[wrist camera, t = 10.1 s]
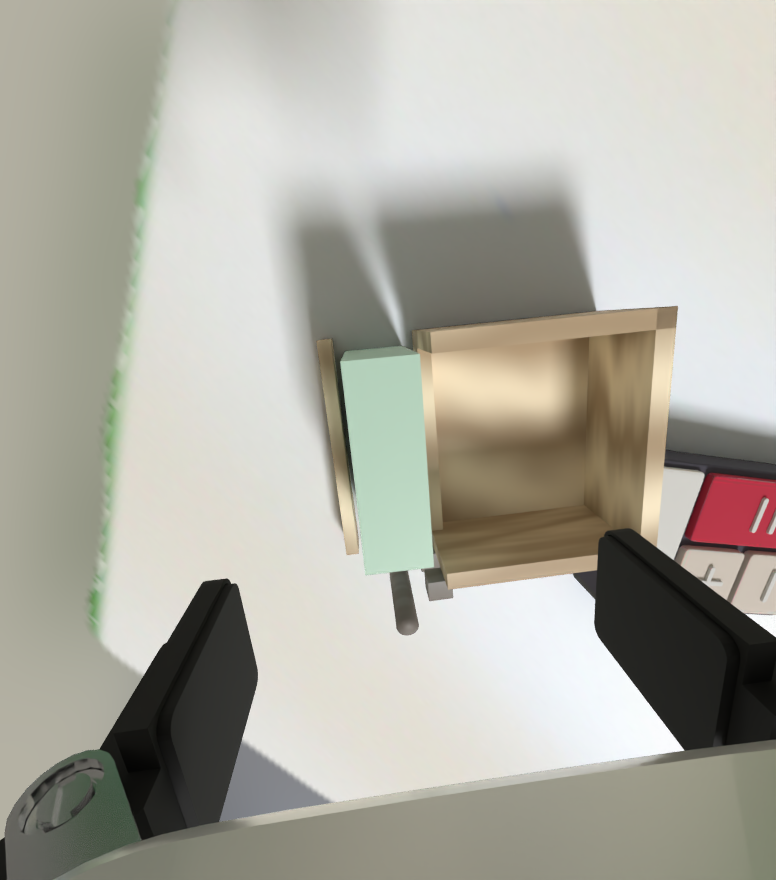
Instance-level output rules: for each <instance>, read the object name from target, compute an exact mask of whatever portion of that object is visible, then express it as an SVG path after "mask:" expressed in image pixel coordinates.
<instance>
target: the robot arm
mask: <svg viewBox="0 0 776 880" xmlns="http://www.w3.org/2000/svg"><path fill="white" fill-rule="evenodd" d="M594 624H595V630H596V633H597V635H598V637H599V638H600V640H601V641H602V642H603V644H604V645H605V646H606V648H607V649H608V650H609V652H610V653H611V654H612V656H613V657H614V658H615V660H616V661H617V662H618V663H619V665H620V666H621V667H622V669H623V670H624V671H625V673H626V674H627V675H628V677H629V678H630V679H631V681H632V682H633V683H634V684H635V686H636V687H637V688H638V690H639V691H640V692H641V694H642V695H643V696H644V698H645V699H646V700H647V702H648V703H649V704H650V705H651V707H652V708H653V709H654V711H655V712H656V713H657V715H658V716H659V717H660V719H661V720H662V721H663V723H664V724H665V725H666V726H667V728H668V729H669V730H670V732H671V733H672V734H673V736H674V737H675V738H676V740H677V741H678V742H679V744H680V745H681V746H682V747H683V749H684V750H685V751H680V752H673V753H665V754H658V755H651V756H644V757H637V758H630V759H623V760H616V761H609V762H602V763H595V764H588V765H581V766H574V767H567V768H560V769H554V770H547V771H540V772H533V773H526V774H520V775H513V776H506V777H499V778H493V779H486V780H479V781H473V782H466V783H459V784H453V785H446V786H439V787H433V788H426V789H419V790H413V791H406V792H400V793H394V794H387V795H381V796H374V797H368V798H361V799H355V800H349V801H342V802H336V803H329V804H323V805H317V806H310V807H304V808H297V809H291V810H285V811H280V812H274V813H268V814H262V815H257V816H251V817H245V818H239V819H234V820H228V821H222V822H219V820H220V816H221V813H222V809H223V805H224V802H225V798H226V795H227V791H228V787H229V784H230V780H231V777H232V773H233V769H234V766H235V762H236V758H237V755H238V751H239V748H240V744H241V741H242V737H243V733H244V730H245V726H246V722H247V719H248V715H249V712H250V708H251V704H252V701H253V697H254V694H255V690H256V686H257V680H258V670H257V665H256V661H255V656H254V652H253V648H252V644H251V639H250V635H249V631H248V626H247V622H246V618H245V613H244V609H243V605H242V601H241V596H240V592H239V588H238V585H237V584H231V582H230V581H229V579H220V580H212V581H205V582H203V583H202V584H201V586H200V588H199V589H198V591H197V593H196V594H195V596H194V598H193V599H192V601H191V603H190V604H189V606H188V608H187V610H186V611H185V613H184V615H183V616H182V618H181V620H180V621H179V623H178V625H177V626H176V628H175V630H174V631H173V633H172V635H171V637H170V638H169V640H168V642H167V643H165V644H164V645H163V646H162V647H161V648H160V650H159V651H158V653H157V655H156V656H155V658H154V660H153V661H152V663H151V665H150V666H149V668H148V669H147V671H146V673H145V674H144V676H143V678H142V679H141V681H140V683H139V685H138V686H137V688H136V689H135V691H134V693H133V694H132V696H131V698H130V699H129V701H128V703H127V704H126V706H125V708H124V709H123V711H122V713H121V714H120V716H119V718H118V719H117V721H116V723H115V724H114V726H113V728H112V729H111V731H110V733H109V734H108V736H107V738H106V739H105V741H104V743H103V744H102V746H101V748H100V749H99V750H87V751H84V752H81V753H78V754H74V755H72V756H70V757H68V758H66V759H64V760H62V761H61V762H59V763H57V764H55V765H54V766H53V767H51V768H50V769H49V770H47V771H46V772H44V773H43V774H42V775H41V776H40V777H39V778H37V779H36V780H35V781H34V782H33V783H32V784H31V785H30V786H29V787H28V788H27V789H26V790H25V792H24V793H23V794H22V795H21V797H20V798H19V799H18V801H17V802H16V803H15V805H14V807H13V809H12V811H11V812H10V814H9V816H8V818H7V822H6V828H5V837H4V838H3V839H2V840H0V880H776V637H774V636H773V635H772V634H770V633H769V632H768V631H767V630H765V629H764V628H763V627H761V626H760V625H759V624H757V623H756V622H755V621H753V620H752V619H751V618H749V617H748V616H747V615H745V614H744V613H743V612H741V611H740V610H739V609H737V608H736V607H735V606H733V605H732V604H731V603H730V602H728V601H727V600H726V599H724V598H723V597H722V596H720V595H719V594H718V593H716V592H715V591H714V590H712V589H711V588H710V587H708V586H707V585H706V584H704V583H703V582H702V581H700V580H699V579H698V578H696V577H695V576H694V575H693V574H691V573H690V572H689V571H687V570H686V569H685V568H683V567H682V566H681V565H679V564H678V563H677V562H675V561H674V560H673V559H671V558H670V557H669V556H667V555H666V554H665V553H663V552H662V551H661V550H660V549H658V548H657V547H656V546H654V545H653V544H652V543H650V542H649V541H648V540H646V539H645V538H644V537H642V536H641V535H640V534H638V533H637V532H636V531H634V530H633V529H631V528H625V529H617V530H609V531H607V532H605V534H604V537H601V538H600V539H599V542H598V560H597V580H596V600H595V620H594Z"/></svg>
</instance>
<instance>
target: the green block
mask: <svg viewBox="0 0 776 880" xmlns="http://www.w3.org/2000/svg"><path fill="white" fill-rule="evenodd" d="M340 364H341V372H342V381H343V389H344V398H345V406H346V414H347V423H348V431H349V440H350V448H351V457H352V465H353V474H354V482H355V491H356V499H357V507H358V516H359V524H360V533H361V541H362V550H363V558H364V567H365V575H373V574H381V573H390V572H398V571H406V570H415V569H423V568H432V567H434V559H433V544H432V529H431V514H430V499H429V484H428V469H427V454H426V439H425V424H424V409H423V394H422V378H421V363H420V354H419V353H417V352H414V351H412V350H410V349H408V348H406V347H404V346H393V347H383V348H372V349H361V350H351V351H345V352H344V355H343V357H342V359H341V361H340Z"/></svg>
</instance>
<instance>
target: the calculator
mask: <svg viewBox="0 0 776 880" xmlns="http://www.w3.org/2000/svg"><path fill="white" fill-rule="evenodd" d="M657 548H658V549H660V550H661V551H662V552H663V553H665V554H666V555H667V556H669V557H670V558H671V559H673V560H674V561H675V562H677V563H678V564H679V565H681V566H682V567H683V568H685V569H686V570H687V571H689V572H690V573H691V574H693V575H694V576H695V577H696V578H698V579H699V580H700V581H702V582H703V583H704V584H706V585H707V586H708V587H710V588H711V589H712V590H714V591H715V592H716V593H718V594H719V595H720V596H722V597H723V598H724V599H726V600H727V601H728V602H730V603H731V604H732V605H733V606H735V607H736V608H737V609H739V610H740V611H741V612H743V613H744V614H761V615H776V465H775V464H768V463H760V462H753V461H745V460H738V459H730V458H722V457H714V456H706V455H698V454H690V453H681V452H675V451H670V450H665V459H664V471H663V482H662V493H661V505H660V516H659V528H658V539H657ZM573 575H574V577H575V578H576V579H577V581H578V582H579V583H580V584H581V585H582V586H583V587H584V588H585V589H586V590H587V591H588V592H589V593H590V594H591V595H592V596H593V598H594V599H595V600H596V580H597V570H594V571H587V572H579V573H574V574H573Z"/></svg>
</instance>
